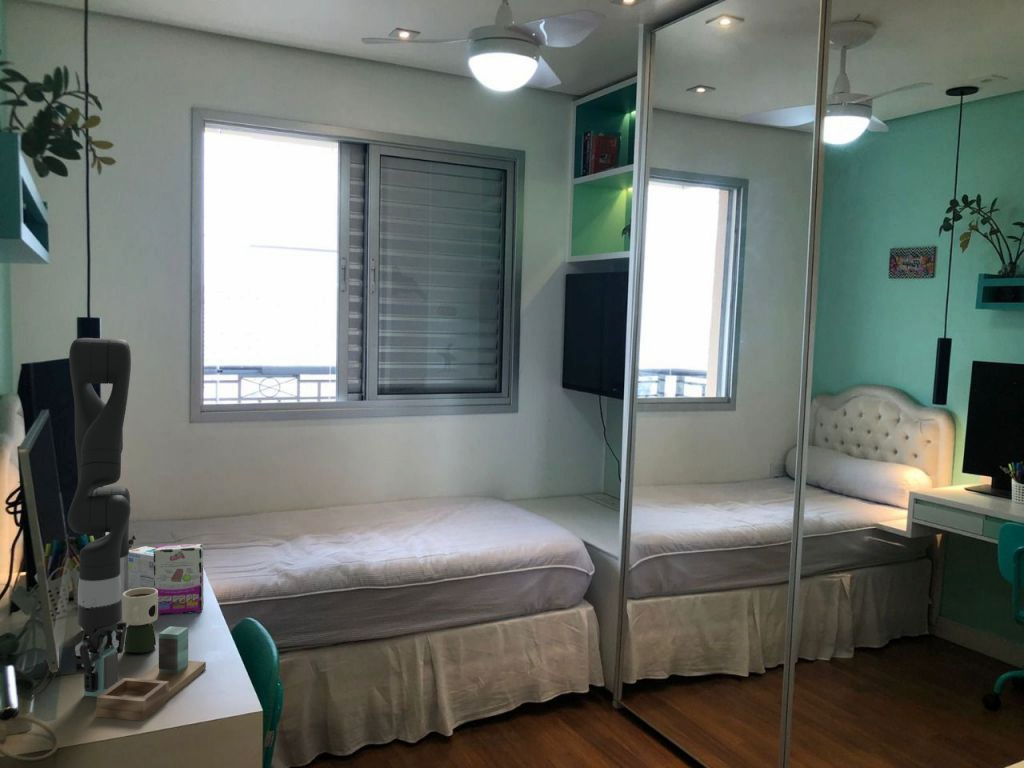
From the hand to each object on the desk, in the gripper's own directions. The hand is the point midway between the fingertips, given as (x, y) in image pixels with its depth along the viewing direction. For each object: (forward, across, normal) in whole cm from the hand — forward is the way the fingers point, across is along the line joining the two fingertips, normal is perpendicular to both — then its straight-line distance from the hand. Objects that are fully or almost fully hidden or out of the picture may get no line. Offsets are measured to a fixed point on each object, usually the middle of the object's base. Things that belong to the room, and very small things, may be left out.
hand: (100, 684), depth 157 cm
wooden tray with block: (+1, -2, +10) cm, 10 cm away
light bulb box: (+2, -59, -25) cm, 64 cm away
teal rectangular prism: (+1, 0, 0) cm, 1 cm away
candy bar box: (+2, -45, -9) cm, 46 cm away
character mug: (+2, -20, -4) cm, 20 cm away
